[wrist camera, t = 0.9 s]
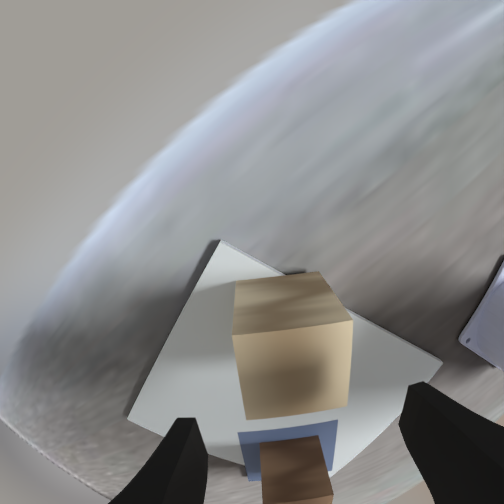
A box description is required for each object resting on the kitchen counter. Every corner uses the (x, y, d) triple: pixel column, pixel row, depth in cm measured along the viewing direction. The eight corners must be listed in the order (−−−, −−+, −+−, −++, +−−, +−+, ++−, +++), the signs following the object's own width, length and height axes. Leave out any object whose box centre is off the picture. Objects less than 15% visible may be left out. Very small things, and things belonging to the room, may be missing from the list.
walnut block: (318, 435, 20) (333, 494, 14) (316, 465, 21) (328, 518, 16) (259, 442, 20) (262, 504, 14) (264, 472, 21) (267, 527, 16)
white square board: (439, 359, 20) (443, 362, 19) (307, 488, 23) (308, 493, 23) (221, 239, 17) (220, 241, 16) (122, 428, 21) (120, 433, 20)
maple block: (318, 271, 17) (353, 320, 11) (320, 341, 18) (347, 406, 12) (236, 280, 17) (231, 335, 11) (245, 351, 18) (246, 420, 12)
